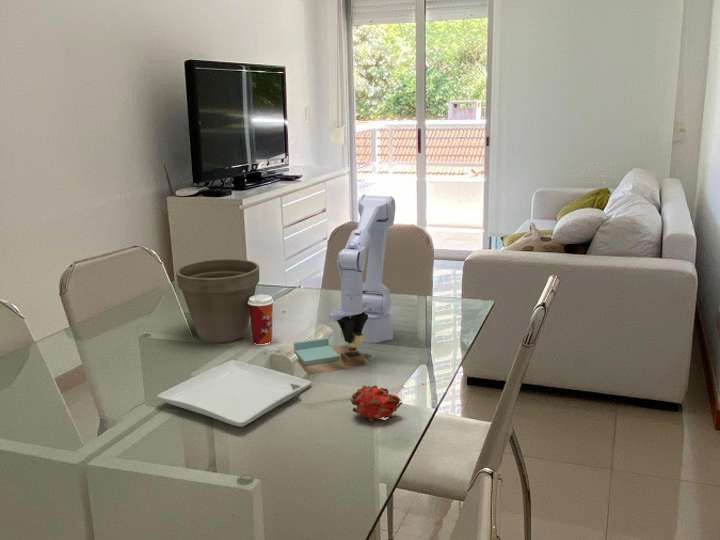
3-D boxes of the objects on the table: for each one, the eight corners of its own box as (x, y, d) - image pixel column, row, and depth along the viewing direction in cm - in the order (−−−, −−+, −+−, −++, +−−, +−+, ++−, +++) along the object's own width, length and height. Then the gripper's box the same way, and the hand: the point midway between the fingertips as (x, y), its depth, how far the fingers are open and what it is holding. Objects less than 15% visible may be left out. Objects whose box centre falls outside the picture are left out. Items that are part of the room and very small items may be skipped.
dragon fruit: (347, 421, 164) (397, 428, 164) (348, 415, 156) (401, 423, 156) (352, 385, 167) (401, 393, 167) (353, 378, 159) (405, 386, 159)
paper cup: (270, 347, 206) (268, 302, 202) (245, 345, 207) (243, 300, 204) (278, 338, 213) (277, 294, 210) (254, 336, 215) (252, 293, 211)
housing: (349, 349, 204) (349, 338, 203) (371, 369, 190) (371, 357, 189) (290, 358, 198) (290, 347, 197) (308, 380, 183) (308, 367, 182)
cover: (327, 347, 201) (327, 337, 200) (339, 359, 192) (339, 349, 191) (293, 352, 198) (293, 342, 197) (304, 365, 189) (304, 354, 188)
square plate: (242, 438, 154) (241, 422, 153) (155, 408, 168) (154, 394, 167) (313, 393, 177) (313, 378, 176) (232, 370, 191) (231, 357, 190)
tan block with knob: (364, 351, 189) (364, 334, 188) (358, 354, 188) (358, 336, 186) (346, 344, 194) (346, 327, 193) (340, 347, 192) (340, 330, 191)
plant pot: (178, 326, 224) (173, 260, 219) (254, 318, 232) (251, 254, 226) (184, 354, 201) (178, 281, 196) (269, 344, 209) (266, 274, 203)
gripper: (362, 284, 194) (362, 330, 198) (321, 295, 185) (322, 343, 188) (379, 289, 189) (379, 337, 193) (338, 301, 180) (339, 350, 183)
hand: (352, 340), depth 190 cm, fingers closed on tan block with knob, 2 cm apart
